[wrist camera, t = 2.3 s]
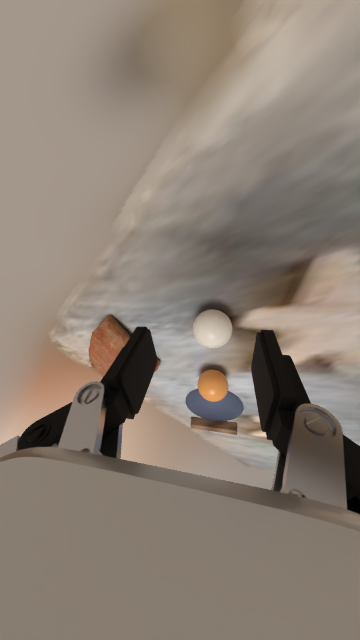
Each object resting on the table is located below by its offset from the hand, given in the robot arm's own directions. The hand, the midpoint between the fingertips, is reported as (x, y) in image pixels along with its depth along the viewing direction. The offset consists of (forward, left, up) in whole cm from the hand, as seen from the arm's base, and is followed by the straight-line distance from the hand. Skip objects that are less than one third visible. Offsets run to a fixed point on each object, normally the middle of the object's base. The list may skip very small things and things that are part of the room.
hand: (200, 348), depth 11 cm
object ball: (-17, +17, -15) cm, 28 cm away
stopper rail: (-31, +31, -18) cm, 47 cm away
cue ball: (-7, +7, -15) cm, 17 cm away
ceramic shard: (+2, +28, -18) cm, 34 cm away
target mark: (-25, +25, -18) cm, 40 cm away
